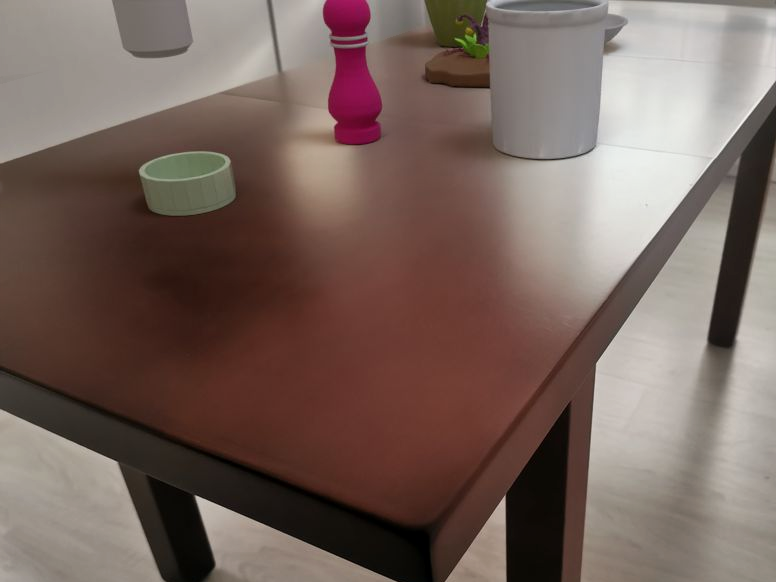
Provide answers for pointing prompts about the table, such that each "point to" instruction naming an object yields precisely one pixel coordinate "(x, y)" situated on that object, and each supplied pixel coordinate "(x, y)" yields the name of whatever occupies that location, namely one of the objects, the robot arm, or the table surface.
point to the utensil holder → (545, 75)
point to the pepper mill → (352, 73)
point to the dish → (613, 26)
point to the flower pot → (453, 19)
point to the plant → (464, 59)
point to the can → (153, 27)
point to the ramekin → (188, 183)
